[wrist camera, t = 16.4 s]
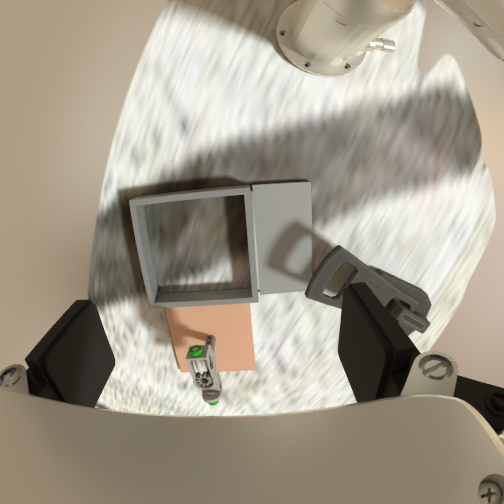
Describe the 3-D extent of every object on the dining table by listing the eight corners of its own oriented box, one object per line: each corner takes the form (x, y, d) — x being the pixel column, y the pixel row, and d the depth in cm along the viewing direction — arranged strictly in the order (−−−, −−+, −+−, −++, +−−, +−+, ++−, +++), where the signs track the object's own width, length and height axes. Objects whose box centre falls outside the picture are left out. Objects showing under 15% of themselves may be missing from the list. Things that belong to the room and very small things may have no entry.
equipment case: (309, 181, 38) (314, 183, 35) (310, 287, 44) (315, 297, 41) (136, 196, 38) (128, 200, 35) (155, 298, 44) (150, 307, 41)
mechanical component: (209, 363, 47) (202, 406, 38) (194, 312, 44) (182, 354, 34) (226, 361, 47) (223, 405, 38) (213, 310, 44) (205, 352, 34)
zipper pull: (338, 240, 34) (450, 314, 39) (324, 225, 41) (431, 296, 45) (298, 299, 37) (417, 356, 41) (291, 277, 43) (402, 335, 48)
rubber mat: (249, 297, 44) (249, 299, 43) (255, 367, 48) (255, 369, 48) (164, 301, 44) (163, 303, 43) (181, 369, 49) (181, 372, 48)
